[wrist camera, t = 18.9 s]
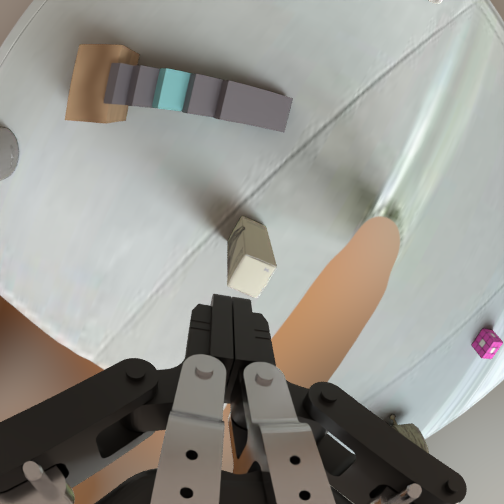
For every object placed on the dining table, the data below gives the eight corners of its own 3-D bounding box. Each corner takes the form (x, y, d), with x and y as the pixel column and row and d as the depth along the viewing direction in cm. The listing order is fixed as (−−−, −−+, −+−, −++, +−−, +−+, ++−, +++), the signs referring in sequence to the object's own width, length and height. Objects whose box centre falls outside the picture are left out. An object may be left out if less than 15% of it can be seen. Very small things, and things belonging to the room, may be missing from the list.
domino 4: (246, 123, 42) (181, 112, 35) (254, 89, 40) (190, 73, 33) (253, 124, 41) (187, 113, 34) (261, 90, 39) (196, 73, 32)
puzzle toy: (482, 328, 64) (493, 341, 59) (492, 329, 65) (503, 342, 60) (471, 345, 66) (481, 358, 61) (481, 346, 67) (491, 359, 62)
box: (241, 214, 47) (245, 250, 36) (267, 226, 49) (279, 265, 37) (226, 243, 49) (225, 287, 38) (251, 254, 50) (257, 300, 39)
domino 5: (277, 130, 42) (214, 117, 37) (285, 97, 40) (222, 80, 35) (284, 132, 41) (219, 119, 36) (292, 98, 39) (228, 80, 34)
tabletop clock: (390, 411, 74) (420, 482, 52) (413, 409, 76) (444, 475, 53) (366, 438, 80) (388, 505, 57) (388, 436, 81) (412, 498, 59)
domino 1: (156, 107, 40) (103, 103, 31) (163, 73, 38) (111, 63, 29) (164, 108, 39) (111, 104, 30) (172, 74, 37) (120, 62, 28)
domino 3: (215, 116, 41) (151, 107, 34) (223, 82, 39) (160, 68, 32) (222, 117, 40) (157, 108, 33) (230, 83, 38) (166, 68, 31)
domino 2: (185, 111, 40) (125, 104, 32) (193, 77, 38) (133, 65, 30) (193, 112, 40) (132, 105, 32) (201, 78, 38) (140, 65, 30)
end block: (89, 116, 39) (64, 120, 32) (102, 52, 35) (79, 44, 28) (125, 120, 40) (105, 123, 33) (139, 54, 36) (122, 44, 29)
